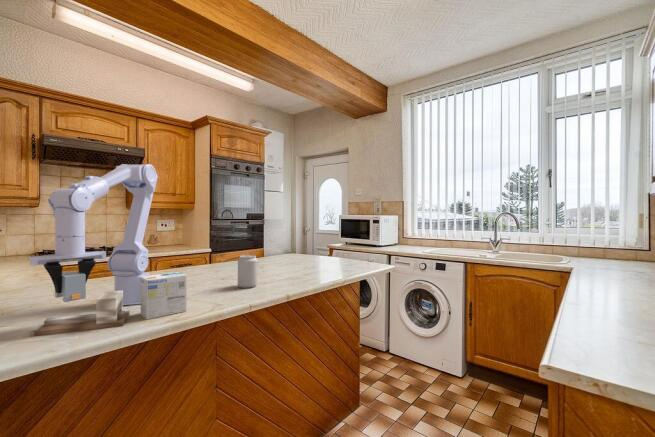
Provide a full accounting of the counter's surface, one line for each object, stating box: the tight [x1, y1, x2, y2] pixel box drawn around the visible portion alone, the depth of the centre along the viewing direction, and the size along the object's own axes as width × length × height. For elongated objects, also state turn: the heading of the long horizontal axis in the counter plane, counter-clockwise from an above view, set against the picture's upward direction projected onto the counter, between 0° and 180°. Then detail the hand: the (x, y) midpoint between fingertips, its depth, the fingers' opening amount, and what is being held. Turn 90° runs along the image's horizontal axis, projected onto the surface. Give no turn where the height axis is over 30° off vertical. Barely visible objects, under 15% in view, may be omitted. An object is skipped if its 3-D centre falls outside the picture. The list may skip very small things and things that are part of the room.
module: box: [54, 270, 87, 303], centre depth 76 cm, size 4×9×6 cm, turn 55°
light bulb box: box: [140, 271, 188, 320], centre depth 87 cm, size 11×7×11 cm, turn 135°
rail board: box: [33, 290, 131, 337], centre depth 77 cm, size 17×9×7 cm, turn 114°
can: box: [237, 254, 259, 289], centre depth 119 cm, size 8×8×12 cm
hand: (70, 290), depth 76 cm, fingers closed on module, 4 cm apart
